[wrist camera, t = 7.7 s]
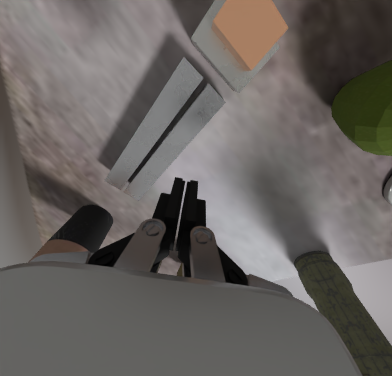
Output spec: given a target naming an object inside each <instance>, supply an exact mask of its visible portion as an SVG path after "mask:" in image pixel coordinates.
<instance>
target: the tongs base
mask: <svg viewBox="0 0 392 376" xmlns="http://www.w3.org/2000/svg"><path fill="white" fill-rule="evenodd" d="M225 1H226V0H214V2H213V4H212V5H211V7H210V8H209V10H208V11H207V13H206V15H205V16H204V18H203V19H202V21H201V23H200V24H199V26H198V27H197V29H196V31H195V32H194V34H193V35H192V37H191V40H192V43H193V45H194V47H195V48H196V49H197V50H198V51H199V52H200V53H201V55H202V56H203V57H204V58H205V59H206V60H207V61H208V63H209V64H210V65H211V66H212V67H213V68H214V69H215V71H216V72H217V73H218V74H219V75H220V76H221V77H222V78H223V80H224V81H225V82H226V83H227V84H228V85H229V86H230V88H231V89H232V90H233V91H235V92H237V93H240V92H241V90H242V89H243V88H244V87H245V86H246V85H247V84H248V83H249V81H250V80H251V79H252V78H253V77H254V76H255V75H256V74H257V72H258V71H259V70H260V69H261V68H262V67H263V66H264V65H265V63H266V62H267V61H268V60H269V59H270V58H271V57H272V56H273V54H274V53H275V52H276V51H277V50H278V49H279V48H280V47H279V45H278V44H277V42H276V43H275V44H274V45H273V46H272V48H271V49H270V50H269V51H268V52H267V53H266V54H265V56H264V57H263V58H262V59H261V60H260V61H259V63H258V64H257V65H256V66H255V67H254V68H253V69H252V71H245V70H244V69H243V67H242V66H241V65H240V64H239V62H238V61H237V60H236V59H235V57H234V56H233V55H232V54H231V52H230V51H229V50H228V49H227V47H226V46H225V45H224V44H223V42H222V41H221V40H220V38H219V37H218V36H217V35H216V33H215V32H214V31H213V30H212V28H211V27H212V22H213V20H214V18H215V17H216V15H217V14H218V12H219V11H220V9H221V8H222V6H223V5H224V3H225ZM202 79H203V77H202V76H201V75H200V74H199V72H198V71H197V70H196V69H195V68H194V67H193V66H192V65H191V64H190V63H189V62H188V61H187V60H186V58H185V57H183V59H182V60H181V62H180V63H179V65H178V66H177V68H176V70H175V71H174V73H173V74H172V76H171V77H170V79H169V81H168V82H167V84H166V85H165V87H164V88H163V90H162V91H161V93H160V95H159V96H158V98H157V99H156V101H155V102H154V104H153V106H152V107H151V109H150V110H149V112H148V113H147V115H146V116H145V118H144V120H143V121H142V123H141V124H140V126H139V127H138V129H137V131H136V132H135V134H134V135H133V137H132V138H131V140H130V141H129V143H128V145H127V146H126V148H125V149H124V151H123V152H122V154H121V156H120V157H119V159H118V160H117V162H116V163H115V165H114V166H113V168H112V170H111V171H110V173H109V174H108V176H107V177H106V179H105V181H106V182H108V183H109V184H111V185H113V186H115V187H116V188H118V189H120V190H121V189H122V187H123V186H124V185H125V183H126V182H127V181H128V179H129V178H130V177H131V175H132V174H133V173H134V171H135V170H136V169H137V167H138V166H139V164H140V163H141V162H142V160H143V159H144V158H145V156H146V155H147V154H148V152H149V151H150V150H151V148H152V147H153V146H154V144H155V143H156V142H157V140H158V139H159V138H160V136H161V135H162V133H163V132H164V131H165V129H166V128H167V127H168V125H169V124H170V123H171V121H172V120H173V119H174V117H175V116H176V115H177V113H178V112H179V111H180V109H181V108H182V106H183V105H184V104H185V102H186V101H187V100H188V98H189V97H190V96H191V94H192V93H193V92H194V90H195V89H196V88H197V86H198V85H199V84H200V82H201V81H202Z"/></svg>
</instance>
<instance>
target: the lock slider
mask: <svg viewBox="0 0 392 376" xmlns="http://www.w3.org/2000/svg"><path fill="white" fill-rule="evenodd" d="M211 28H212V30H213V31H214V32H215V33H216V35H217V36H218V37H219V38H220V40H221V41H222V42H223V44H224V45H225V46H226V47H227V49H228V50H229V51H230V52H231V54H232V55H233V56H234V57H235V59H236V60H237V61H238V62H239V64H240V65H241V66H242V67H243V69H244V70H245V71H252V69H253V68H254V67H255V66H256V65H257V64H258V63H259V61H260V60H261V59H262V58H263V57H264V56H265V54H266V53H267V52H268V51H269V50H270V49H271V48H272V46H273V45H274V44H275V43H276V42H277V41H278V39H279V38H280V37H281V36H282V35H283V34H284V33H285V31H286V30H287V29H288V26H287V25H286V23H285V21H284V20H283V18H282V16H281V15H280V13H279V11H278V10H277V8H276V7H275V5H274V3H273V2H272V0H226V1H225V3H224V5H223V6H222V8H221V9H220V11H219V12H218V14H217V15H216V17H215V18H214V20H213V22H212V27H211Z"/></svg>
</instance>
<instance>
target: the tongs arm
mask: <svg viewBox="0 0 392 376" xmlns="http://www.w3.org/2000/svg"><path fill="white" fill-rule="evenodd" d="M225 103H226V102H225V101H224V100H223V99H222V98H221V96H220V95H219V94H218V93H217V92H216V91H215V90H214V89H213V88H212V87H211V85H210V84H209V83H207V85H206V86H205V87H204V88H203V90H202V91H201V92H200V94H199V95H198V96H197V97H196V99H195V100H194V101H193V102H192V104H191V105H190V106H189V108H188V109H187V110H186V111H185V113H184V114H183V115H182V117H181V118H180V119H179V120H178V122H177V123H176V124H175V126H174V127H173V128H172V129H171V131H170V132H169V133H168V135H167V136H166V137H165V138H164V140H163V141H162V142H161V144H160V145H159V146H158V147H157V149H156V150H155V151H154V153H153V154H152V155H151V156H150V158H149V159H148V160H147V162H146V163H145V164H144V165H143V167H142V168H141V169H140V171H139V172H138V173H137V174H136V176H135V177H134V178H133V180H132V181H131V182H130V183H129V185H128V186H127V188H126V189H125V191H124V192H125V193H126V194H128V195H130V196H131V197H133V198H134V199H136V200H138V201H139V199H140V198H141V197H142V196H143V195H144V194H145V193H146V192H147V190H148V189H149V188H150V187H151V186H152V185H153V184H154V183H155V181H156V180H157V179H158V178H159V177H160V176H161V175H162V174H163V172H164V171H165V170H166V169H167V168H168V167H169V166H170V165H171V163H172V162H173V161H174V160H175V159H176V158H177V157H178V155H179V154H180V153H181V152H182V151H183V150H184V149H185V148H186V146H187V145H188V144H189V143H190V142H191V141H192V140H193V139H194V137H195V136H196V135H197V134H198V133H199V132H200V131H201V130H202V128H203V127H204V126H205V125H206V124H207V123H208V122H209V121H210V119H211V118H212V117H213V116H214V115H215V114H216V113H217V112H218V110H219V109H220V108H221V107H222V106H223V105H224V104H225Z"/></svg>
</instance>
